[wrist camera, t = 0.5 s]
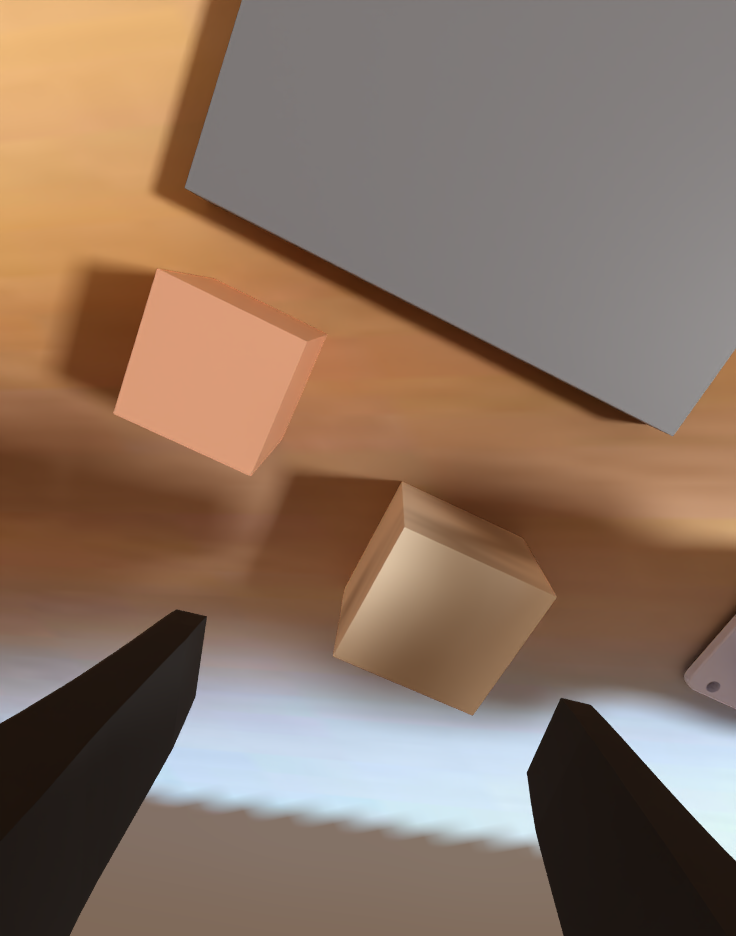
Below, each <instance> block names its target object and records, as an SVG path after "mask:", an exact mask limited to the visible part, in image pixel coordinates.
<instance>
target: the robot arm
mask: <svg viewBox="0 0 736 936" xmlns="http://www.w3.org/2000/svg"><path fill="white" fill-rule="evenodd" d="M206 619H207V616H203V615H198V614H194V613H190V612H185V611H181V610H175V611H173V612H171V613H170V614H168V615H167V616H166V617H164V618H163V619H161V620H160V621H158V622H157V623H156V624H154V625H153V626H151V627H150V628H149V629H147V630H146V631H144V632H143V633H142V634H140V635H139V636H137V637H136V638H135V639H133V640H132V641H130V642H129V643H127V644H126V645H125V646H123V647H122V648H120V649H119V650H117V651H116V652H114V653H113V654H111V655H110V656H108V657H107V658H105V659H104V660H102V661H101V662H99V663H98V664H96V665H95V666H93V667H92V668H90V669H89V670H87V671H86V672H84V673H83V674H81V675H80V676H78V677H77V678H75V679H74V680H72V681H70V682H69V683H67V684H66V685H64V686H62V687H61V688H59V689H57V690H56V691H54V692H53V693H51V694H49V695H48V696H46V697H44V698H43V699H41V700H39V701H38V702H36V703H34V704H33V705H31V706H29V707H28V708H26V709H25V710H23V711H21V712H20V713H18V714H16V715H14V716H13V717H11V718H9V719H7V720H6V721H4V722H2V723H0V936H70V934H71V932H72V929H73V927H74V925H75V923H76V921H77V919H78V917H79V915H80V913H81V911H82V909H83V908H84V906H85V904H86V902H87V900H88V898H89V896H90V894H91V892H92V891H93V889H94V887H95V885H96V883H97V881H98V879H99V878H100V876H101V874H102V872H103V870H104V869H105V867H106V865H107V863H108V862H109V860H110V858H111V857H112V855H113V853H114V851H115V850H116V848H117V846H118V844H119V843H120V841H121V839H122V837H123V836H124V834H125V832H126V830H127V828H128V827H129V825H130V823H131V822H132V820H133V818H134V816H135V814H136V813H137V811H138V809H139V808H140V806H141V804H142V802H143V801H144V799H145V797H146V795H147V794H148V792H149V790H150V788H151V786H152V785H153V783H154V781H155V779H156V778H157V776H158V774H159V772H160V771H161V769H162V767H163V765H164V763H165V762H166V760H167V758H168V756H169V754H170V753H171V751H172V749H173V747H174V744H175V742H176V740H177V738H178V736H179V733H180V731H181V729H182V727H183V724H184V722H185V720H186V717H187V715H188V713H189V711H190V708H191V706H192V704H193V701H194V699H195V696H196V689H197V682H198V675H199V668H200V661H201V654H202V647H203V640H204V633H205V626H206ZM684 680H685V682H686V683H687V684H688V686H689V687H690V688H691V689H693V690H694V691H696V692H699V693H701V694H703V695H705V696H707V697H710V698H712V699H714V700H716V701H718V702H721V703H723V704H725V705H727V706H730V707H732V708H734V709H736V615H735V616H734V617H733V618H732V619H731V620H730V621H729V623H728V624H727V625H726V626H725V627H724V628H723V629H722V631H721V632H720V633H719V634H718V635H717V636H716V637H715V639H714V640H713V641H712V642H711V643H710V644H709V645H708V647H707V648H706V649H705V650H704V651H703V652H702V653H701V655H700V656H699V657H698V658H697V659H696V660H695V661H694V663H693V664H692V665H691V666H690V667H689V668H688V670H687V671H686V672H685V674H684ZM710 682H712V683H711V684H709V683H710ZM527 777H528V784H529V792H530V799H531V806H532V812H533V818H534V824H535V830H536V834H537V838H538V842H539V846H540V850H541V854H542V857H543V861H544V865H545V869H546V872H547V876H548V880H549V884H550V887H551V891H552V895H553V898H554V902H555V906H556V909H557V913H558V917H559V920H560V924H561V928H562V931H563V935H564V936H736V861H735V860H734V859H733V858H732V857H731V856H730V855H729V854H728V853H727V852H726V851H725V850H724V849H723V848H722V847H721V846H720V845H719V844H718V842H717V841H716V840H715V839H714V838H713V837H712V836H711V835H710V834H709V833H708V832H707V831H706V830H705V829H704V828H703V827H702V826H701V824H700V823H699V822H698V821H697V820H696V819H695V818H694V817H693V816H692V815H691V814H690V813H689V812H688V811H687V809H686V808H685V807H684V806H683V805H682V804H681V803H680V802H679V801H678V800H677V799H676V797H675V796H674V795H673V794H672V793H671V792H670V791H669V790H668V789H667V788H666V786H665V785H664V784H663V783H662V782H661V781H660V780H659V779H658V778H657V776H656V775H655V774H654V773H653V772H652V771H651V770H650V769H649V768H648V766H647V765H646V764H645V763H644V762H643V761H642V760H641V759H640V758H639V756H638V755H637V754H636V753H635V752H634V751H633V750H632V749H631V748H630V746H629V745H628V744H627V743H626V742H625V741H624V740H623V739H622V738H621V736H620V735H619V734H618V733H617V732H616V731H615V730H614V729H613V728H612V727H611V725H610V724H609V723H608V722H607V721H606V720H605V719H604V718H603V717H602V716H601V715H600V714H599V713H598V712H597V711H596V710H595V709H594V708H593V707H592V706H591V705H589V704H585V703H581V702H576V701H572V700H568V699H563V698H561V699H560V701H559V703H558V705H557V708H556V710H555V712H554V714H553V716H552V718H551V721H550V723H549V725H548V727H547V729H546V732H545V734H544V736H543V738H542V740H541V743H540V745H539V747H538V749H537V751H536V754H535V756H534V758H533V760H532V762H531V764H530V767H529V769H528V771H527Z"/></svg>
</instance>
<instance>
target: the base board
mask: <svg viewBox="0 0 736 936" xmlns="http://www.w3.org/2000/svg"><path fill="white" fill-rule="evenodd" d="M185 188H186V189H187V190H189V191H191V192H192V193H194V194H196V195H197V196H199V197H201V198H203V199H204V200H206V201H208V202H210V203H212V204H214V205H216V206H218V207H220V208H222V209H224V210H226V211H228V212H230V213H232V214H234V215H236V216H238V217H240V218H242V219H244V220H246V221H248V222H249V223H251V224H253V225H255V226H257V227H259V228H261V229H263V230H265V231H267V232H269V233H271V234H273V235H275V236H277V237H279V238H281V239H283V240H285V241H287V242H289V243H291V244H293V245H295V246H297V247H299V248H301V249H303V250H305V251H307V252H309V253H311V254H312V255H314V256H316V257H318V258H320V259H322V260H324V261H326V262H328V263H330V264H332V265H334V266H336V267H338V268H340V269H342V270H344V271H346V272H348V273H350V274H352V275H354V276H356V277H358V278H360V279H362V280H364V281H366V282H368V283H370V284H372V285H373V286H375V287H377V288H379V289H381V290H383V291H385V292H387V293H389V294H391V295H393V296H395V297H397V298H399V299H401V300H403V301H405V302H407V303H409V304H411V305H413V306H415V307H417V308H419V309H421V310H423V311H425V312H427V313H429V314H431V315H433V316H435V317H436V318H438V319H440V320H442V321H444V322H446V323H448V324H450V325H452V326H454V327H456V328H458V329H460V330H462V331H464V332H466V333H468V334H470V335H472V336H474V337H476V338H478V339H480V340H482V341H484V342H486V343H488V344H490V345H492V346H494V347H496V348H497V349H499V350H501V351H503V352H505V353H507V354H509V355H511V356H513V357H515V358H517V359H519V360H521V361H523V362H525V363H527V364H529V365H531V366H533V367H535V368H537V369H539V370H541V371H543V372H545V373H547V374H549V375H551V376H553V377H555V378H557V379H559V380H560V381H562V382H564V383H566V384H568V385H570V386H572V387H574V388H576V389H578V390H580V391H582V392H584V393H586V394H588V395H590V396H592V397H594V398H596V399H598V400H600V401H602V402H604V403H606V404H608V405H610V406H612V407H614V408H616V409H618V410H620V411H622V412H623V413H625V414H627V415H629V416H631V417H633V418H635V419H637V420H639V421H641V422H643V423H645V424H647V425H649V426H651V427H654V428H656V429H658V430H660V431H662V432H665V433H667V434H669V435H671V436H673V435H674V434H675V433H676V431H677V430H678V428H679V427H680V426H681V424H682V423H683V421H684V420H685V419H686V417H687V416H688V414H689V413H690V412H691V410H692V409H693V407H694V406H695V405H696V403H697V402H698V400H699V399H700V398H701V396H702V395H703V393H704V392H705V391H706V389H707V388H708V386H709V385H710V384H711V382H712V381H713V379H714V378H715V377H716V375H717V374H718V372H719V371H720V370H721V368H722V367H723V365H724V364H725V363H726V361H727V360H728V358H729V357H730V356H731V354H732V353H733V351H734V350H735V349H736V0H242V2H241V5H240V8H239V11H238V15H237V18H236V21H235V25H234V28H233V31H232V34H231V38H230V41H229V44H228V47H227V51H226V54H225V57H224V61H223V64H222V67H221V70H220V74H219V77H218V80H217V84H216V87H215V90H214V93H213V97H212V100H211V103H210V106H209V110H208V113H207V116H206V120H205V123H204V126H203V129H202V133H201V136H200V139H199V143H198V146H197V149H196V152H195V156H194V159H193V162H192V166H191V169H190V172H189V175H188V179H187V182H186V185H185Z"/></svg>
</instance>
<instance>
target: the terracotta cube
mask: <svg viewBox="0 0 736 936" xmlns="http://www.w3.org/2000/svg"><path fill="white" fill-rule="evenodd" d="M326 336H327V334H326V333H324V332H322V331H320V330H318V329H316V328H314V327H312V326H310V325H308V324H306V323H304V322H302V321H300V320H298V319H295V318H293V317H291V316H289V315H287V314H285V313H283V312H281V311H279V310H277V309H275V308H273V307H271V306H269V305H267V304H265V303H263V302H261V301H259V300H257V299H255V298H253V297H251V296H249V295H247V294H245V293H243V292H241V291H239V290H237V289H235V288H233V287H231V286H228V285H226V284H224V283H222V282H220V281H218V280H216V279H214V278H209V277H203V276H197V275H192V274H186V273H180V272H175V271H169V270H163V269H158V268H157V271H156V274H155V278H154V281H153V284H152V288H151V291H150V294H149V297H148V301H147V304H146V307H145V311H144V314H143V317H142V321H141V324H140V327H139V330H138V334H137V337H136V340H135V344H134V347H133V350H132V354H131V357H130V360H129V363H128V367H127V370H126V373H125V377H124V380H123V383H122V387H121V390H120V393H119V396H118V400H117V403H116V406H115V410H114V413H113V414H115V415H117V416H119V417H122V418H124V419H126V420H128V421H130V422H133V423H135V424H137V425H139V426H141V427H144V428H146V429H148V430H150V431H152V432H155V433H157V434H159V435H161V436H163V437H166V438H168V439H170V440H172V441H174V442H177V443H179V444H181V445H183V446H185V447H188V448H190V449H192V450H194V451H196V452H199V453H201V454H203V455H205V456H207V457H210V458H212V459H214V460H216V461H218V462H221V463H223V464H225V465H227V466H229V467H232V468H234V469H236V470H238V471H240V472H243V473H245V474H247V475H249V476H251V475H252V474H253V473H254V472H255V471H256V469H257V468H258V467H259V466H260V465H261V464H262V462H263V461H264V460H265V459H266V458H267V457H268V455H269V454H270V453H271V452H272V451H273V450H274V448H275V447H276V446H277V445H278V444H279V443H280V441H281V440H282V438H283V436H284V434H285V431H286V429H287V427H288V424H289V422H290V420H291V417H292V415H293V413H294V410H295V408H296V406H297V404H298V401H299V399H300V397H301V394H302V392H303V390H304V387H305V385H306V383H307V380H308V378H309V376H310V373H311V371H312V369H313V366H314V364H315V362H316V360H317V357H318V355H319V353H320V350H321V348H322V346H323V343H324V341H325V339H326Z"/></svg>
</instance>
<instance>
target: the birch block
mask: <svg viewBox="0 0 736 936" xmlns="http://www.w3.org/2000/svg"><path fill="white" fill-rule="evenodd" d="M556 598H557V596H556V594H555V592H554V591H553V589H552V587H551V586H550V584H549V582H548V580H547V579H546V577H545V575H544V573H543V572H542V570H541V568H540V566H539V565H538V563H537V561H536V560H535V558H534V556H533V554H532V553H531V551H530V549H529V547H528V546H527V544H526V542H525V540H524V539H523V538H522V537H520V536H518V535H516V534H514V533H512V532H510V531H507V530H505V529H503V528H501V527H499V526H497V525H495V524H492V523H490V522H488V521H486V520H484V519H482V518H480V517H477V516H475V515H473V514H471V513H469V512H467V511H465V510H463V509H460V508H458V507H456V506H454V505H452V504H450V503H448V502H445V501H443V500H441V499H439V498H437V497H435V496H433V495H430V494H428V493H426V492H424V491H422V490H420V489H418V488H416V487H413V486H411V485H409V484H407V483H405V482H403V481H402V482H401V484H400V486H399V487H398V489H397V491H396V493H395V495H394V497H393V499H392V501H391V502H390V504H389V506H388V508H387V510H386V512H385V514H384V515H383V517H382V519H381V521H380V523H379V525H378V527H377V529H376V530H375V532H374V534H373V536H372V538H371V540H370V542H369V544H368V545H367V547H366V549H365V551H364V553H363V555H362V557H361V558H360V560H359V562H358V564H357V566H356V568H355V570H354V572H353V573H352V575H351V577H350V579H349V581H348V583H347V585H346V587H345V588H344V594H343V599H342V605H341V611H340V617H339V623H338V629H337V635H336V640H335V646H334V652H333V657H336V658H338V659H340V660H343V661H345V662H347V663H350V664H352V665H354V666H357V667H359V668H361V669H364V670H366V671H369V672H371V673H373V674H376V675H378V676H380V677H383V678H385V679H387V680H390V681H392V682H395V683H397V684H399V685H402V686H404V687H406V688H409V689H411V690H413V691H416V692H418V693H421V694H423V695H425V696H428V697H430V698H432V699H435V700H437V701H439V702H442V703H444V704H446V705H449V706H451V707H454V708H456V709H458V710H461V711H463V712H465V713H468V714H470V715H472V716H473V714H474V713H475V712H476V710H477V709H478V707H479V706H480V705H481V703H482V702H483V700H484V699H485V698H486V696H487V695H488V693H489V692H490V691H491V689H492V688H493V686H494V685H495V684H496V682H497V681H498V679H499V678H500V677H501V675H502V674H503V672H504V671H505V670H506V668H507V667H508V665H509V664H510V662H511V661H512V660H513V658H514V657H515V655H516V654H517V653H518V651H519V650H520V648H521V647H522V646H523V644H524V643H525V641H526V640H527V639H528V637H529V636H530V634H531V633H532V632H533V630H534V629H535V627H536V626H537V625H538V623H539V622H540V620H541V619H542V618H543V616H544V615H545V613H546V612H547V611H548V609H549V608H550V606H551V605H552V603H553V602H554V601H555V599H556Z"/></svg>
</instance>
